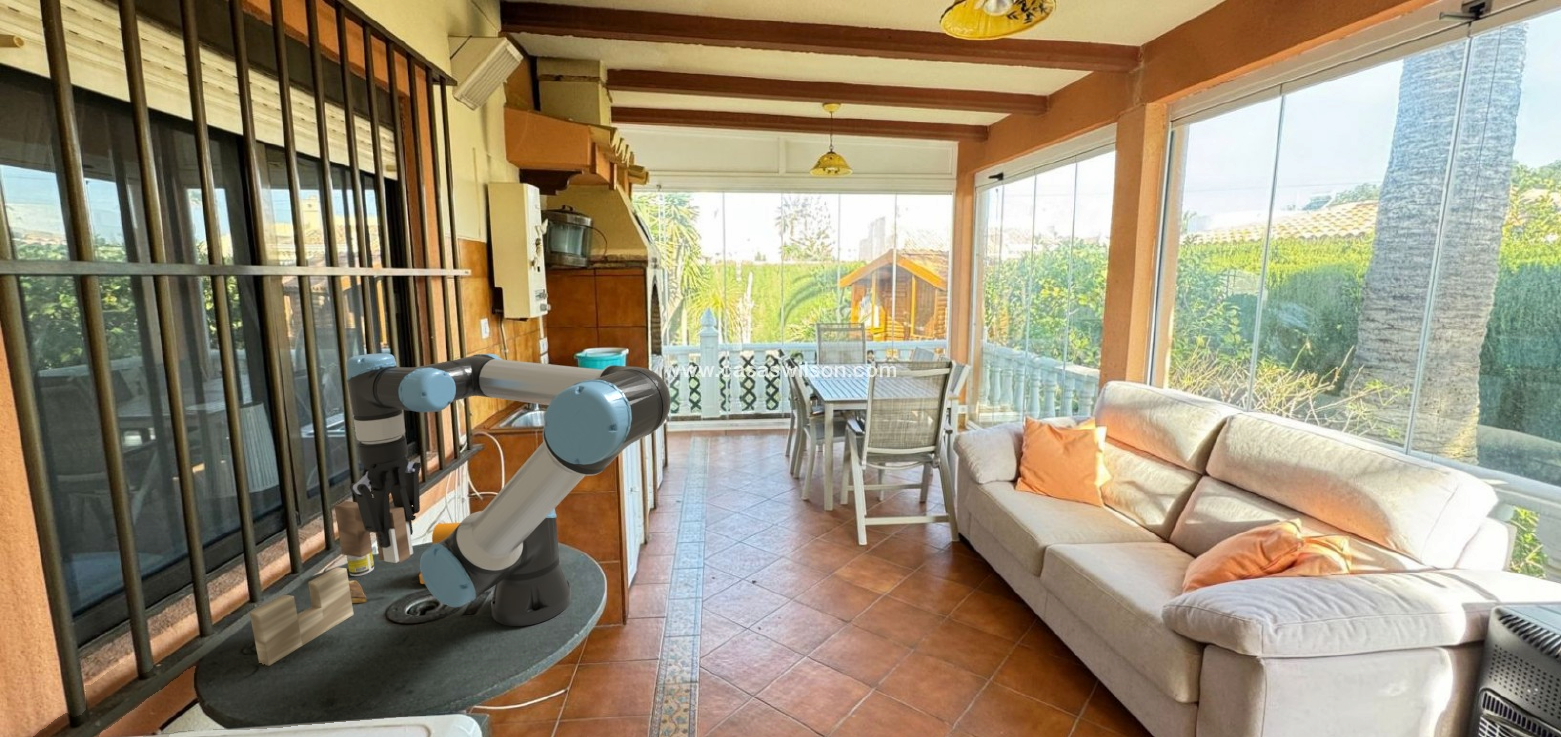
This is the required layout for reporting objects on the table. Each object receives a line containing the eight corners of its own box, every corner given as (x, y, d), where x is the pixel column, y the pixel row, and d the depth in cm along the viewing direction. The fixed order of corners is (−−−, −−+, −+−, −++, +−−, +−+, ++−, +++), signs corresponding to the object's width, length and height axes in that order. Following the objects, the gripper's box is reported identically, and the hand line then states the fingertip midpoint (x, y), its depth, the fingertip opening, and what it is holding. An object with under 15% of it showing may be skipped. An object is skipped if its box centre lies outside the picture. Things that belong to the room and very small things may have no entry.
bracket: (442, 563, 143) (436, 515, 141) (474, 561, 144) (468, 513, 142) (418, 587, 133) (412, 536, 131) (453, 586, 133) (447, 534, 131)
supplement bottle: (363, 565, 143) (358, 531, 141) (379, 567, 141) (374, 533, 140) (344, 575, 138) (338, 540, 136) (361, 578, 137) (355, 543, 135)
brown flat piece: (367, 604, 127) (366, 596, 127) (322, 619, 122) (321, 611, 122) (358, 584, 135) (356, 577, 135) (315, 598, 130) (313, 590, 130)
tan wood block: (410, 556, 117) (403, 507, 115) (399, 562, 115) (392, 512, 113) (353, 548, 121) (346, 501, 119) (342, 554, 119) (334, 505, 117)
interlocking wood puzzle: (353, 614, 123) (346, 568, 121) (269, 665, 108) (259, 614, 106) (344, 613, 123) (337, 567, 122) (259, 663, 108) (249, 612, 106)
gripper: (401, 425, 121) (416, 537, 125) (325, 449, 106) (345, 575, 110) (432, 427, 119) (446, 541, 123) (358, 452, 104) (378, 580, 108)
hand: (398, 557), depth 116 cm, fingers closed on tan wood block, 2 cm apart
